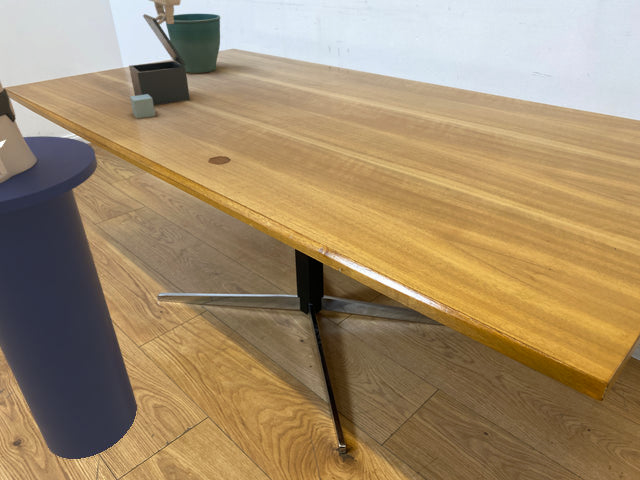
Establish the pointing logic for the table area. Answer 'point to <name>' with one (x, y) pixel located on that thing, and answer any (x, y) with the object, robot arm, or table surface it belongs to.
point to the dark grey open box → (160, 81)
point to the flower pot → (196, 40)
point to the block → (142, 106)
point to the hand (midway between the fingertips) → (166, 22)
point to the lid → (163, 36)
